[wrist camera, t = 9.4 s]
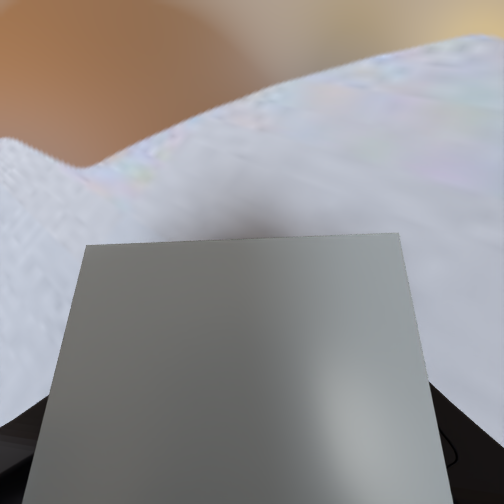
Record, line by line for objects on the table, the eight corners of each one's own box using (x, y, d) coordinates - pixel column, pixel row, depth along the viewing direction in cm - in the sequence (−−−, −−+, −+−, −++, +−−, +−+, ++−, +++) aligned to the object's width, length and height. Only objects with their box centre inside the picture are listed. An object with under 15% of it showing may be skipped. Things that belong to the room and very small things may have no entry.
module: (310, 356, 13) (499, 731, 2) (229, 351, 14) (3, 576, 3) (305, 285, 14) (398, 233, 3) (232, 285, 15) (86, 245, 4)
